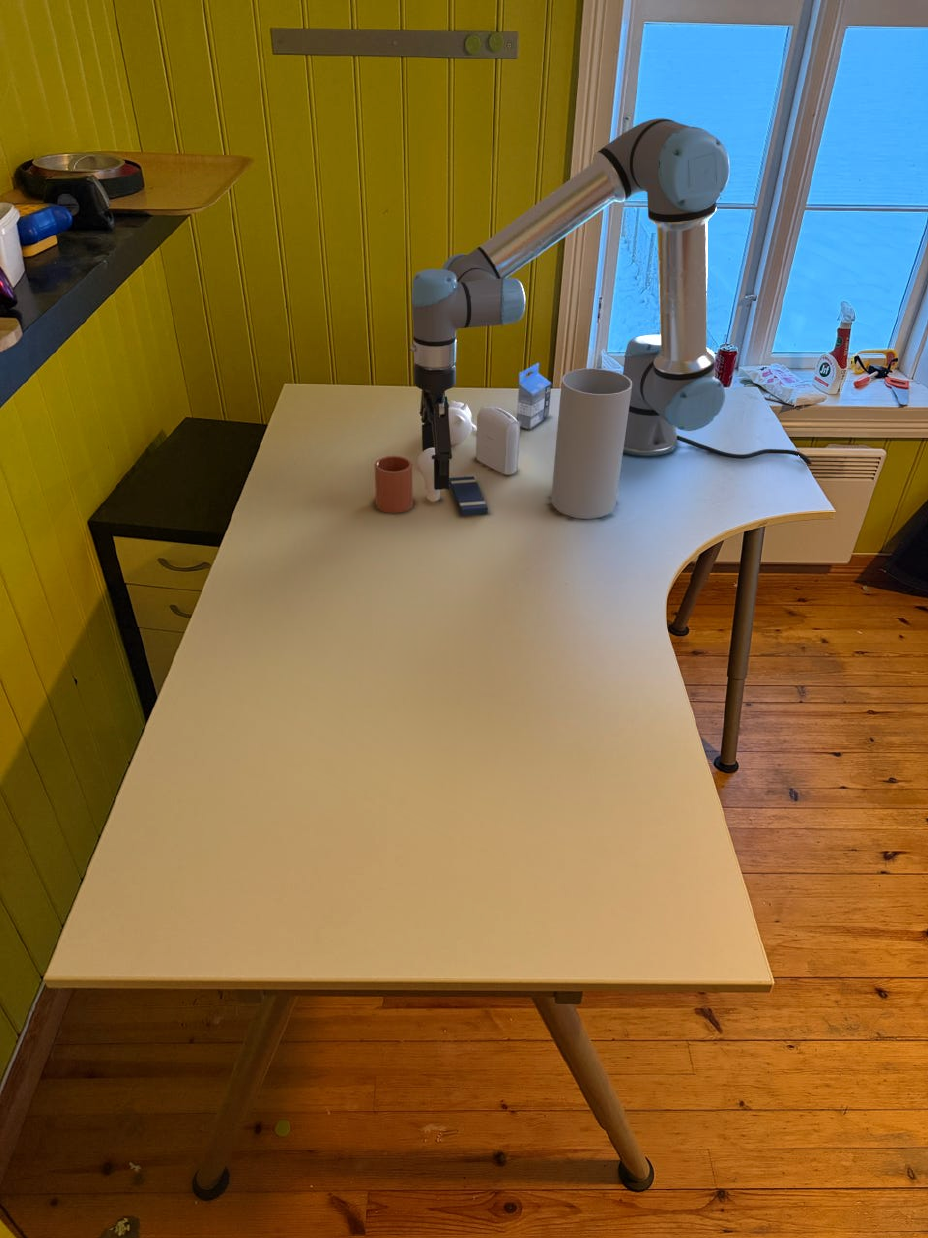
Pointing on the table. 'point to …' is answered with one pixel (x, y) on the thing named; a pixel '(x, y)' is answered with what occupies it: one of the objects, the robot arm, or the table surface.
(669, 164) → the robot arm
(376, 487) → the pot
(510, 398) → the table surface
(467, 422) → the cat figurine
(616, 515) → the table surface
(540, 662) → the table surface
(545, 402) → the ink cartridge box
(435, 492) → the lightbulb
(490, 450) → the photo printer
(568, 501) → the cylinder vase
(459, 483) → the towel
